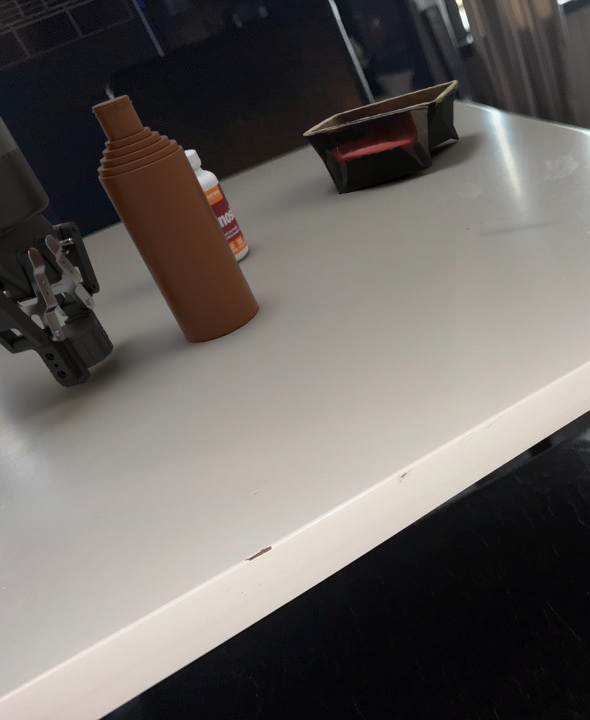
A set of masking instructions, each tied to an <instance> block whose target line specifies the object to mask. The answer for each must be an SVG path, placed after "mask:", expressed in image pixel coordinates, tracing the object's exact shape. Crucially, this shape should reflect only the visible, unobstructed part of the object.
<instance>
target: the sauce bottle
mask: <svg viewBox="0 0 590 720" xmlns="http://www.w3.org/2000/svg"><path fill="white" fill-rule="evenodd" d="M91 110H92V111H91V112H92V114H94V115H95V119H97V121H98V122H99V124H100V127H101V129H102V130H103V133H104V134H105V136H106V138H107V141H105V142H104V145H105V147H106V148H105V149H104V150H102V155H103V157H102V158H101V159H99V163H100V164H101V165H100V166H99V167H98V168H97V172H98V174H99V175H98V177H97V178H98V180H99V182H100V184H101V186H102V188H103V190H104V191H105V193H106V195H107V197H108V199H109V201H110V203H111V204H112V206H113V208H114V210H115V211H116V214H117V215H118V217H119V219H120V220H121V223H122V224H123V226H124V228H125V230H126V232H127V234H128V235H129V237H130V239H131V241H132V243H133V245H134V247H135V249H136V250H137V252H138V254H139V255H140V257H141V259H142V261H143V262H144V264H145V267H146V268H147V270H148V272H149V274H150V275H151V278H152V279H153V281H154V283H155V285H156V286H157V289H158V290H159V292H160V293H161V295H162V297H163V299H164V301H165V303H166V304H167V306H168V309H169V310H170V312H171V314H172V316H173V318H174V319H175V321H176V323H177V325H178V327H179V328H180V330H181V332H182V334H183V336H184V337H185V339H186V340H187V341H190V342H193V343H194V342H197V343H198V342H205V341H210V340H214V339H217V338H220V337H223V336H225V335H227V334H230V333H232V332H234V331H236V330H238V329H239V328H241V327H242V326H244V325H246V324H247V323H248V322H249V321H251V320H253V318H254V317H255V316H256V314H257V313H258V311H259V309H260V306H259V303H258V301H257V300H256V297H255V295H254V293H253V291H252V288H251V287H250V285H249V283H248V281H247V279H246V276H245V274H244V273H243V271H242V268H241V266H240V264H239V261H238V262H237V260H236V258H235V256H234V254H233V251H232V249H231V247H230V245H229V243H228V241H227V239H226V237H225V235H224V233H223V231H222V229H221V227H220V224H219V222H218V220H217V218H216V216H215V214H214V212H213V210H212V208H211V206H210V204H209V202H208V200H207V197H206V195H205V193H204V191H203V189H202V187H201V185H200V183H199V181H198V179H197V177H196V175H195V173H194V170H193V168H192V166H191V164H190V162H189V160H188V158H187V156H186V154H185V152H184V151H185V150H184V147H183V146H182V145H180V144H178V142H177V140H175V139H169V137H168V136H167V135H160V132H159V131H157V130H156V131H155V130H154V131H153V130H151V128H150V127H149V126H143V123H142V122H141V121H142V120H141V119H140V117H139V116H138V114H137V111H136V110H135V108H134V105H133V100H131V99H130V96H129V95H127V94H123V95H120V96H117V97H114V98H112V99H108V100H106V101H103V102H100V103H97V104H96V105H93V106H92V107H91Z"/></svg>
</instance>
